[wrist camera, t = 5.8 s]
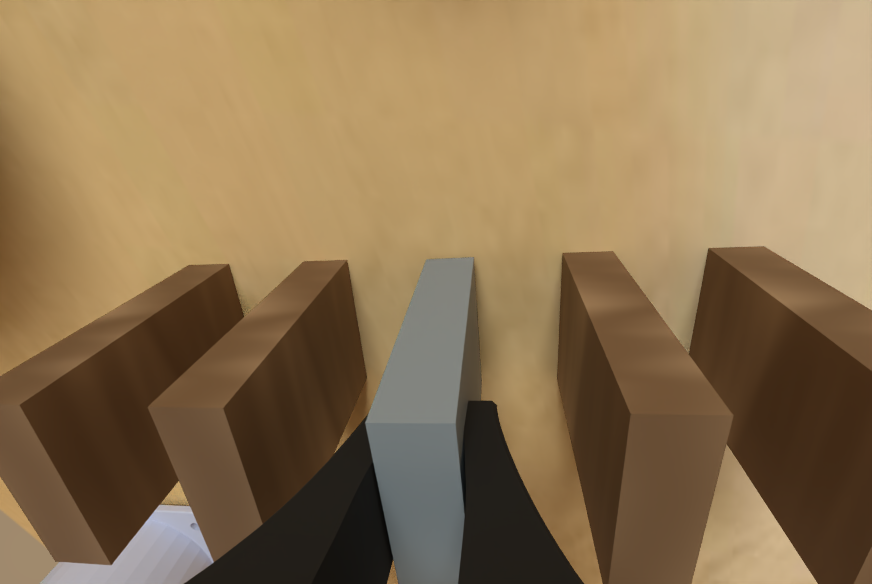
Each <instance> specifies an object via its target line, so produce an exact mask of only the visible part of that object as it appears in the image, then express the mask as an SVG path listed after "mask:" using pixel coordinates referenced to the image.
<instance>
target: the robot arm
mask: <svg viewBox="0 0 872 584" xmlns="http://www.w3.org/2000/svg"><path fill="white" fill-rule="evenodd" d="M367 417H368V415H367V416H366V418H365V419H364V420H363V421H362V422H361V424H360V425H359V426H358V427H357V428H356V430H355V431H354V432H353V433H352V434H351V436H350V437H349V438H348V439H347V440H346V441H345V443H344V444H343V445H342V446H341V447H340V448H339V449H338V450H337V452H336V453H335V454H334V455H333V456H332V457H331V458H330V459H329V461H328V462H327V463H326V464H325V465H324V466H323V467H322V468H321V469H320V470H319V471H318V472H317V473H316V474H315V475H314V476H313V477H312V478H311V479H310V480H309V481H308V482H307V483H306V484H305V485H304V486H303V487H302V488H301V489H300V490H299V491H298V492H297V493H296V494H295V495H294V496H293V497H292V498H291V499H290V500H289V501H288V502H287V503H286V504H285V505H284V506H283V507H281V508H280V509H279V510H278V511H277V512H276V513H275V514H274V515H272V516H271V517H270V518H269V519H268V520H267V521H266V522H264V523H263V524H262V525H261V526H260V527H259V528H257V529H256V530H255V531H254V532H252V533H251V534H250V535H249V536H247V537H246V538H245V539H244V540H242V541H241V542H240V543H238V544H237V545H236V546H234V547H233V548H232V549H231V550H229V551H228V552H227V553H225V554H224V555H223V556H222V557H220V558H219V559H218V560H216V561H215V562H214V561H213V559H212V557H211V554H210V552H209V550H208V547H207V545H206V543H205V540H204V538H203V536H202V533H201V531H200V529H199V526H198V524H197V522H196V519H195V517H194V515H193V512H192V510H191V508H190V506H177V505H159V506H158V507H157V509H156V510H155V511H154V512H153V514H152V515H151V516H150V517H149V519H148V520H147V521H146V522H145V524H144V525H143V526H142V527H141V529H140V530H139V531H138V532H137V534H136V535H135V536H134V537H133V539H132V540H131V541H130V542H129V544H128V545H127V546H126V548H125V549H124V550H123V551H122V553H121V554H120V555H119V556H118V558H117V559H116V560H115V561H114V563H113V564H112V565H98V564H84V563H70V562H59V563H58V564H57V565H56V566H55V567H54V568H53V569H52V570H51V572H50V573H49V574H48V575H47V576H46V577H45V578H44V579H43V580H42V581H41V583H40V584H387V581H388V577H389V573H390V569H391V565H392V561H393V555H392V550H391V545H390V540H389V535H388V531H387V526H386V521H385V516H384V511H383V506H382V502H381V497H380V492H379V487H378V482H377V477H376V473H375V468H374V463H373V458H372V453H371V449H370V444H369V439H368V434H367V429H366V424H365V422H366V420H367ZM464 449H465V475H466V508H465V519H464V529H463V540H462V550H461V560H460V569H459V579H458V584H584V583H583V582H582V580H581V579H580V578H579V576H578V575H577V573H576V572H575V571H574V569H573V568H572V566H571V565H570V563H569V562H568V560H567V558H566V557H565V555H564V554H563V552H562V551H561V549H560V548H559V546H558V545H557V543H556V541H555V540H554V538H553V536H552V535H551V533H550V531H549V530H548V528H547V526H546V525H545V523H544V521H543V519H542V518H541V516H540V514H539V512H538V510H537V509H536V507H535V505H534V503H533V501H532V499H531V497H530V495H529V493H528V491H527V489H526V487H525V485H524V483H523V481H522V479H521V477H520V475H519V473H518V470H517V468H516V466H515V463H514V461H513V459H512V456H511V454H510V452H509V449H508V447H507V444H506V441H505V438H504V435H503V432H502V429H501V426H500V422H499V418H498V413H497V405H496V404H495V403H494V402H493V401H468V406H467V412H466V418H465V426H464Z"/></svg>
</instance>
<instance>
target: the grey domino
mask: <svg viewBox="0 0 872 584" xmlns="http://www.w3.org/2000/svg"><path fill="white" fill-rule="evenodd" d="M481 385H482V378H481V362H480V347H479V331H478V315H477V300H476V284H475V269H474V257H468V258H448V259H427V260H426V262H425V265H424V267H423V270H422V273H421V275H420V278H419V281H418V283H417V286H416V289H415V291H414V294H413V297H412V299H411V302H410V305H409V307H408V310H407V313H406V315H405V318H404V321H403V323H402V326H401V329H400V331H399V334H398V337H397V339H396V342H395V345H394V347H393V350H392V353H391V355H390V358H389V361H388V363H387V366H386V369H385V371H384V374H383V377H382V379H381V382H380V385H379V387H378V390H377V393H376V395H375V398H374V401H373V404H372V406H371V409H370V412H369V414H368V417H367V420H366V422H365V424H366V429H367V434H368V439H369V444H370V449H371V453H372V458H373V463H374V468H375V473H376V477H377V482H378V487H379V492H380V497H381V502H382V506H383V511H384V516H385V521H386V526H387V531H388V535H389V540H390V545H391V550H392V555H393V560H394V564H395V569H396V574H397V579H398V584H458V579H459V569H460V560H461V550H462V540H463V529H464V519H465V508H466V475H465V449H464V426H465V418H466V412H467V406H468V401H481Z"/></svg>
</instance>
